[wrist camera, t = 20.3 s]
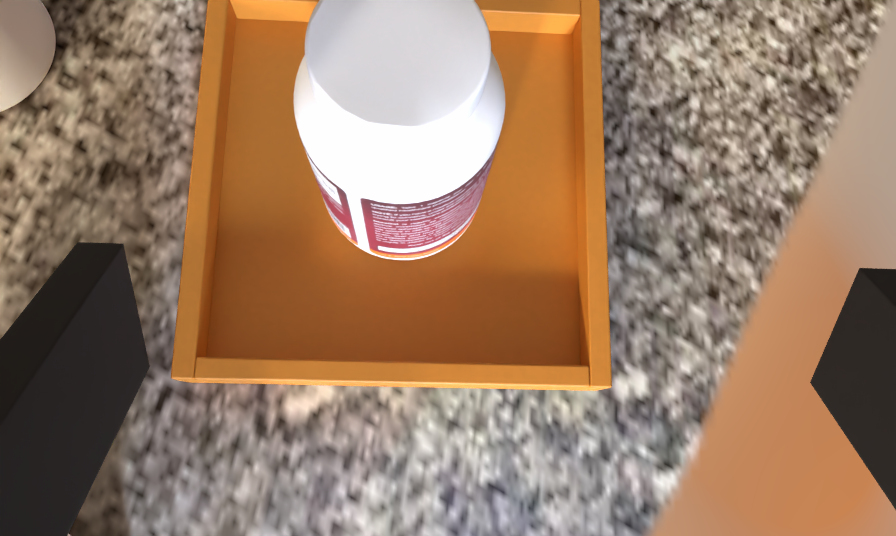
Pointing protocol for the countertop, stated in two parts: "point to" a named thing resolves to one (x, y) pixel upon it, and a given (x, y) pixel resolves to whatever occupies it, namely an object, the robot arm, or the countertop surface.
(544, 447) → the countertop surface
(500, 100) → the pill bottle
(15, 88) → the mug
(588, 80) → the amber tray
